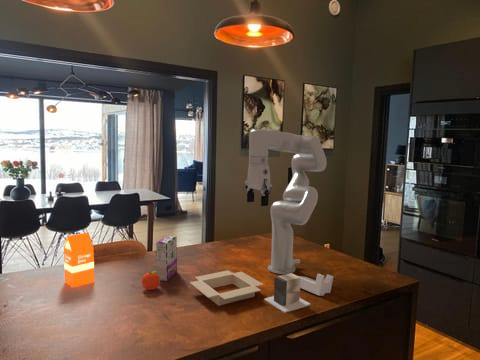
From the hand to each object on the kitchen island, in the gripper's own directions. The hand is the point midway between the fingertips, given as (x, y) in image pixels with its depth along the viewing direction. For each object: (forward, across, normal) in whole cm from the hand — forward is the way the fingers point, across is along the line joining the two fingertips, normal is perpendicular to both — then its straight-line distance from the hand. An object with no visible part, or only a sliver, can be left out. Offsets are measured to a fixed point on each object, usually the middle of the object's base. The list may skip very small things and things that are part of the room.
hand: (257, 203), depth 149 cm
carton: (+33, -2, +15) cm, 37 cm away
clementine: (+34, +16, +38) cm, 53 cm away
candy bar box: (+34, +26, +28) cm, 51 cm away
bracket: (+34, -16, -17) cm, 41 cm away
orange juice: (+34, +37, +61) cm, 79 cm away
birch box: (+33, -20, 0) cm, 38 cm away
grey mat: (+33, -20, 0) cm, 39 cm away
